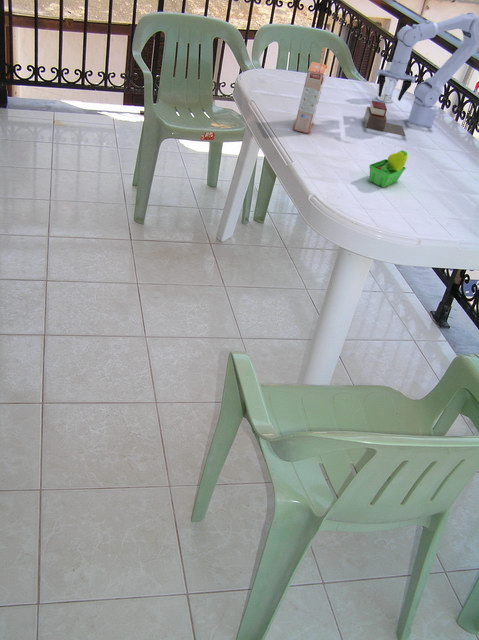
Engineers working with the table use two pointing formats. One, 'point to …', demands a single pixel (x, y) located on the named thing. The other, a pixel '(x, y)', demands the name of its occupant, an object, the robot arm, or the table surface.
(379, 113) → the red hardcover book
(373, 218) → the table surface
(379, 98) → the beer glass
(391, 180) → the fruit basket
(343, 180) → the table surface
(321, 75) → the cracker box
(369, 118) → the book rack
